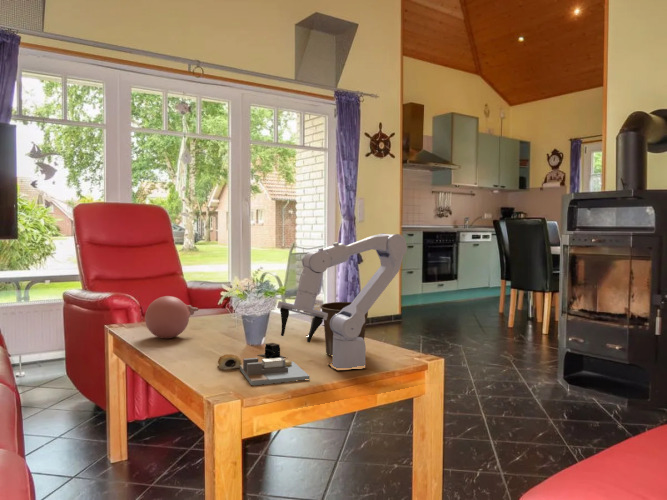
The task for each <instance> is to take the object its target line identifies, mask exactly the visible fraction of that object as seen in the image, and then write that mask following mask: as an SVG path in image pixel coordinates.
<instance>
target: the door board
mask: <svg viewBox="0 0 667 500" xmlns="http://www.w3.org/2000/svg"><path fill="white" fill-rule="evenodd" d="M242 360H243V362H242V364H241V365H240V367H239V371H240V372H241V373H242V374H244V375H243V376H244V377H245V379H246V380H247V381H249V382H248V383H249V385H250V386H251V385H254V386H263V385H262V384H264V385H273V383H275V384H282V383H281V382H285V383H290V382H289V381H296V380H305V379H309V380H310V374H308V373H307V372H306V371H305V370H303V368H301V367H300V366H299V365H298V364H297V363H296V362H294V361H292V360H287V359H285V367H282V368H271V369H262V361H259V358H258V357H249V358H243V359H242ZM296 382H297V381H296Z"/></svg>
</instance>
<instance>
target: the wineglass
mask: <svg viewBox="0 0 667 500" xmlns="http://www.w3.org/2000/svg"><path fill="white" fill-rule="evenodd" d="M320 306H321V303H319V302H315V304H314V308H313V309H314V310H317V311H322V309H321V308H320ZM302 312H304V313H308V312H306V311H302ZM308 314H310V313H308ZM305 316H306V317H308V318H309V319H310V325H311V324H312V319H313V318H314V317H312V316H308V315H305ZM307 334H308V335H309V333H307Z"/></svg>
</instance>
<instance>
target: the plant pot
mask: <svg viewBox="0 0 667 500" xmlns="http://www.w3.org/2000/svg"><path fill="white" fill-rule="evenodd" d="M352 302H353V301H352ZM352 302H350V301H335V302H332V301H331V302H326V303H322V304H320V309H321V312H325V313H328V316H327V320H324V319H323V326H324V327H323V328H324V330H323V331H324V339H325V341H324V342H325V353H327V354H330V355H333V331H332V330H331V328H330V320H331V318H332V317H333V316H334V315H335V314H337V313H339V312H340V311H341V310H342V309H343V308H345V307H346V306H348V305H350V304H351V303H352ZM368 315H369V311H368V312H367V313H366V314H365V323H364V324H363V326H362V328H361V332H360V334H359V335H358V337H362V338H363V339H364V340H365V337H366V336H365V335H366V325H367V320H368ZM327 354H326V355H327Z"/></svg>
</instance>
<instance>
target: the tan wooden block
mask: <svg viewBox="0 0 667 500" xmlns="http://www.w3.org/2000/svg"><path fill="white" fill-rule="evenodd" d="M285 360H286V359H284V358H271V359H267V358H262V359H261V362H262V369H271V368H282V367H285Z"/></svg>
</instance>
